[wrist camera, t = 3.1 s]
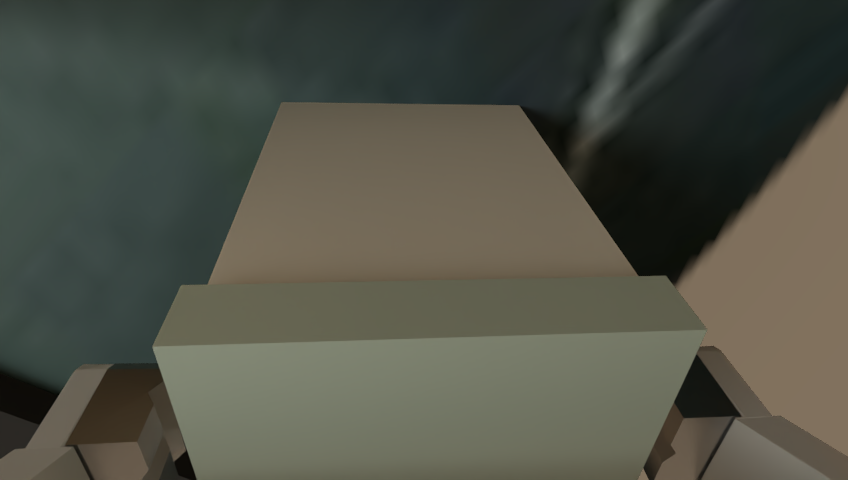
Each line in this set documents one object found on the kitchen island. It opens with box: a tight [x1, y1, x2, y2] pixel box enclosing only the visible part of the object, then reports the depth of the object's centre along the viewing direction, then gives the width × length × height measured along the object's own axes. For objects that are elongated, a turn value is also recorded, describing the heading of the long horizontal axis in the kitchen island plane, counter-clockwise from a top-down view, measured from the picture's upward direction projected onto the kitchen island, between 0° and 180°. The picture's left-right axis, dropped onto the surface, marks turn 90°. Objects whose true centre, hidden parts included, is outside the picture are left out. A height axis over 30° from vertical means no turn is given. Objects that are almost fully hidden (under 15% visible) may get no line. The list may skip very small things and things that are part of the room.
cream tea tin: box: [152, 102, 707, 480], centre depth 11 cm, size 6×6×8 cm
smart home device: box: [0, 373, 197, 480], centre depth 18 cm, size 8×2×20 cm
